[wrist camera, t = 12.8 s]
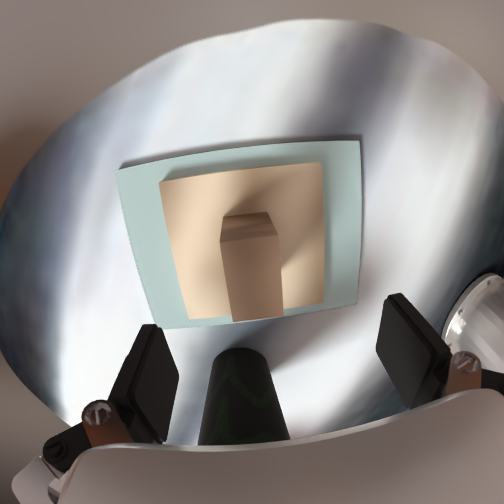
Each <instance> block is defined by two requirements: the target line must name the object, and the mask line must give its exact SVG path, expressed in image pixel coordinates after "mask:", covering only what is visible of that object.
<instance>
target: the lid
mask: <svg viewBox="0 0 504 504" xmlns="http://www.w3.org/2000/svg"><path fill="white" fill-rule="evenodd" d="M158 183H159V189H160V195H161V200H162V206H163V211H164V216H165V221H166V226H167V231H168V236H169V241H170V245H171V250H172V254H173V259H174V263H175V267H176V271H177V276H178V280H179V284H180V288H181V292H182V296H183V299H184V303H185V307H186V311H187V314H188V318H189V320H191V319H202V318H212V317H222V316H231V315H232V320H233V322H240V321H249V320H257V319H265V318H272V317H279V316H284V309H287V308H293V307H300V306H307V305H313V304H319V303H324V204H323V182H322V165H321V163H319V162H311V163H296V164H283V165H271V166H261V167H251V168H243V169H234V170H226V171H219V172H212V173H205V174H198V175H192V176H185V177H179V178H174V179H168V180H162V181H160V182H158Z"/></svg>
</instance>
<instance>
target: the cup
mask: <svg viewBox="0 0 504 504" xmlns="http://www.w3.org/2000/svg"><path fill="white" fill-rule="evenodd" d="M285 440H290V436H289V433H288V430H287V427H286V423H285V420H284V417H283V414H282V410H281V407H280V404H279V401H278V397H277V394H276V391H275V387H274V384H273V381H272V377H271V374H270V370H269V367H268V364H267V361H266V359H265V358H264V356H263V355H262V354H260V353H259V352H257V351H254V350H252V349H247V348H234V349H229V350H227V351H224V352H222V353H221V354H219V355H218V356H217V357H216V358H215V360H214V362H213V365H212V370H211V375H210V381H209V386H208V391H207V396H206V401H205V407H204V412H203V418H202V423H201V428H200V434H199V439H198V445H197V446H220V445H243V444H257V443H267V442H277V441H285Z"/></svg>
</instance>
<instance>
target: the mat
mask: <svg viewBox="0 0 504 504" xmlns="http://www.w3.org/2000/svg"><path fill="white" fill-rule="evenodd" d="M311 162H319V163H321V165H322V182H323V204H324V303H319V304H313V305H307V306H300V307H293V308H287V309H284V316H279V317H285V316H292V315H298V314H304V313H311V312H316V311H322V310H328V309H334V308H339V307H344V306H350V305H355V304H357V294H358V283H359V269H360V251H361V218H362V193H361V161H360V143H359V141H316V142H296V143H281V144H269V145H259V146H249V147H240V148H232V149H224V150H217V151H210V152H204V153H197V154H191V155H185V156H180V157H174V158H169V159H164V160H159V161H154V162H150V163H145V164H140V165H136V166H132V167H128V168H123V169H119V170H116V171H115V175H116V181H117V186H118V191H119V196H120V201H121V206H122V210H123V215H124V219H125V224H126V228H127V232H128V236H129V240H130V244H131V248H132V251H133V255H134V259H135V262H136V266H137V269H138V273H139V276H140V279H141V283H142V286H143V289H144V292H145V295H146V299H147V302H148V305H149V308H150V310H151V313H152V316H153V319H154V322H155V324H156V325H157V326H158V327H161V328H162V329H176V328H189V327H201V326H211V325H221V324H231V323H239V322H233V320H232V315H231V316H222V317H212V318H202V319H191V320H189V318H188V314H187V311H186V307H185V303H184V299H183V296H182V292H181V288H180V284H179V280H178V276H177V271H176V267H175V263H174V259H173V254H172V250H171V245H170V241H169V236H168V231H167V226H166V221H165V216H164V211H163V206H162V200H161V195H160V189H159V183H158V182H160V181H162V180H168V179H174V178H179V177H185V176H192V175H198V174H205V173H212V172H219V171H226V170H234V169H243V168H251V167H261V166H271V165H283V164H296V163H311ZM272 318H278V317H272ZM265 319H271V318H265ZM257 320H264V319H257ZM249 321H256V320H249ZM240 322H248V321H240Z"/></svg>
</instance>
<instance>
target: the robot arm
mask: <svg viewBox="0 0 504 504" xmlns="http://www.w3.org/2000/svg"><path fill="white" fill-rule="evenodd" d="M376 352H377V355H378V357H379V358H380V360H381V362H382V364H383V366H384V367H385V369H386V371H387V373H388V375H389V376H390V378H391V380H392V382H393V384H394V386H395V388H396V389H397V391H398V393H399V395H400V397H401V399H402V401H403V403H404V405H405V406H406V408H410V410H408V411H405V412H402V413H399V414H396V415H393V416H390V417H387V418H384V419H381V420H378V421H374V422H371V423H367V424H364V425H360V426H356V427H352V428H348V429H344V430H340V431H335V432H331V433H326V434H321V435H316V436H310V437H305V438H298V439H292V440H285V441H277V442H267V443H257V444H243V445H220V446H192V445H165V444H162V443H163V442H165V441H166V440H167V435H168V430H169V425H170V420H171V415H172V410H173V405H174V400H175V395H176V391H177V386H178V381H179V373H178V370H177V367H176V365H175V362H174V360H173V357H172V355H171V352H170V349H169V347H168V344H167V341H166V339H165V336H164V333H163V330H162V328H161V327H158V326H157V325H156V324H144V325H142V327H141V329H140V331H139V333H138V335H137V337H136V339H135V341H134V344H133V346H132V348H131V350H130V352H129V354H128V356H127V357H126V358H125V360H124V363H123V365H122V367H121V369H120V372H119V374H118V376H117V378H116V381H115V383H114V385H113V388H112V390H111V393H110V395H109V397H108V400H96V401H92V402H91V403H89V404H88V405H87V406H86V407H85V408H84V410H83V412H82V416H81V418H82V422H81V423H79V424H77V425H75V426H73V427H71V428H69V429H68V430H66V431H64V432H62V433H60V434H58V435H56V436H54V437H52V438H50V439H49V440H47V442H46V443H45V445H44V447H43V456H42V457H40V456H37V457H36V458H35V459H34V460H33V461H32V462H31V463H30V464H28V465H27V466H26V467H25V468H24V469H23V470H22V471H21V472H20V473H18V474H17V475H16V476H15V477H14V479H13V481H12V489H13V492H14V494H15V496H16V497H17V499H18V500H19V502H20V503H21V504H504V281H503V279H502V278H501V277H500V276H498V275H497V274H495V273H487V274H484V275H483V276H481V277H479V278H478V279H477V280H475V281H474V282H473V283H472V284H471V285H470V286H469V287H468V288H467V289H466V290H465V291H464V293H463V294H462V295H461V296H460V298H459V299H458V301H457V302H456V303H455V305H454V307H453V309H452V310H451V312H450V314H449V316H448V318H447V320H446V323H445V325H444V328H443V332H442V338H441V337H440V336H439V334H438V333H437V332H436V331H435V330H434V329H433V327H432V326H431V325H430V324H429V323H428V322H427V321H426V319H425V318H424V317H423V316H422V315H421V314H420V313H419V312H418V310H417V309H416V308H415V307H414V306H413V305H412V304H411V303H410V302H409V301H408V300H407V298H406V297H405V296H404V295H403V294H402V293H397V294H392V295H389V296H388V297H387V299H385V300H384V304H383V311H382V317H381V322H380V328H379V333H378V338H377V343H376Z"/></svg>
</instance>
